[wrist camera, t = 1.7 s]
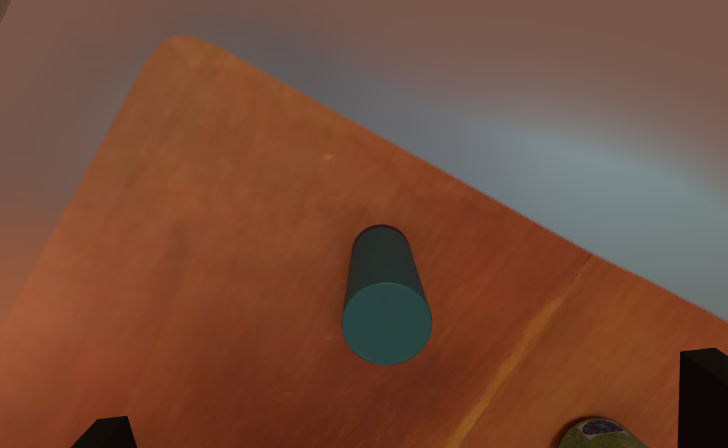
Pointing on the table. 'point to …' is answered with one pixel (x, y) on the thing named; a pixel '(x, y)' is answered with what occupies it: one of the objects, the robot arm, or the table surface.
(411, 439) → the table surface
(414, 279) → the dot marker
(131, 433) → the robot arm
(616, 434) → the beverage can
